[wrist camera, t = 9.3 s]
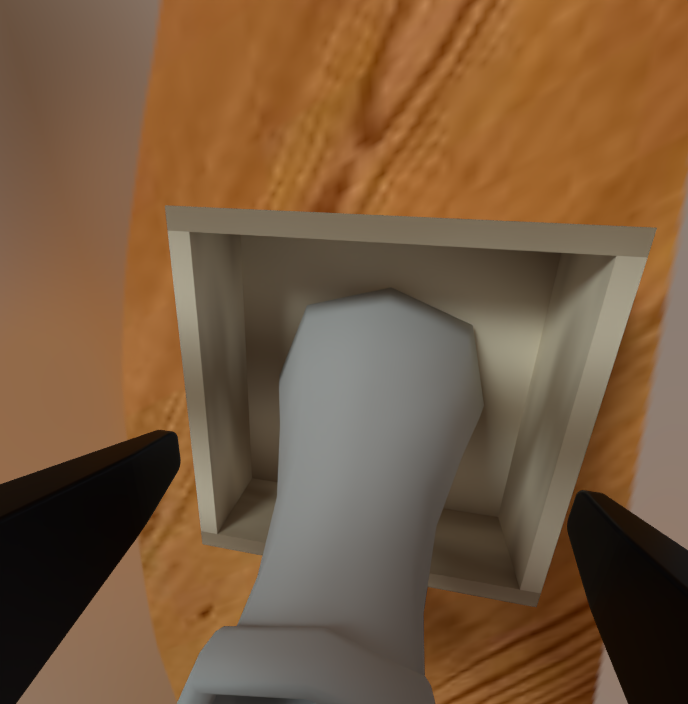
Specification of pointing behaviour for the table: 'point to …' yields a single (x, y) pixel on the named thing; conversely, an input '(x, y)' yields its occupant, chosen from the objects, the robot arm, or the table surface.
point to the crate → (437, 291)
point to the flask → (352, 509)
